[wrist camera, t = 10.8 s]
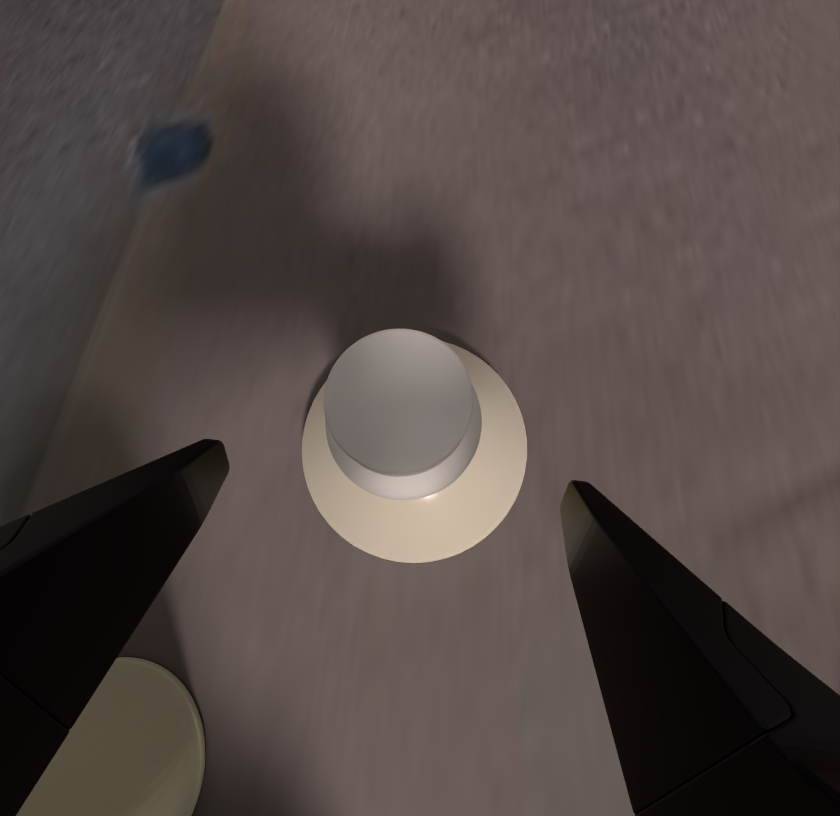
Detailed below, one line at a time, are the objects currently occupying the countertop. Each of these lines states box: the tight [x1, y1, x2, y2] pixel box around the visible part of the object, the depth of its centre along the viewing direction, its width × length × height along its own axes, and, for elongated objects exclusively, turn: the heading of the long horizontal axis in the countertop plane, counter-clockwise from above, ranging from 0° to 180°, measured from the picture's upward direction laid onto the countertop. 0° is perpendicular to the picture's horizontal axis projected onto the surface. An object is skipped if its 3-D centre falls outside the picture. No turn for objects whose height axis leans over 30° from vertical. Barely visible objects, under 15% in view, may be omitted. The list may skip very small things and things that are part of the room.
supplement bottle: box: [323, 329, 482, 500], centre depth 14 cm, size 5×5×10 cm
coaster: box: [302, 341, 527, 563], centre depth 19 cm, size 12×12×1 cm
